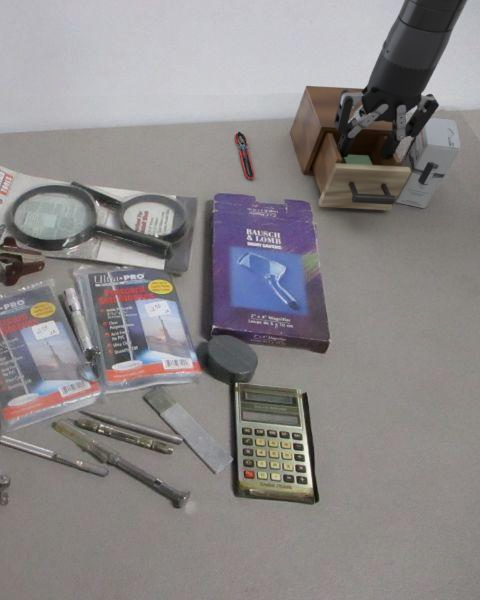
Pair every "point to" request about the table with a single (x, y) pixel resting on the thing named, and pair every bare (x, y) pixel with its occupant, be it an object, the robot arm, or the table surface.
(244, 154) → the red black pliers
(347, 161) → the block
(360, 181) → the drawer
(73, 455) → the table surface
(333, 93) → the cabinet
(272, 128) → the table surface
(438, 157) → the ink box
